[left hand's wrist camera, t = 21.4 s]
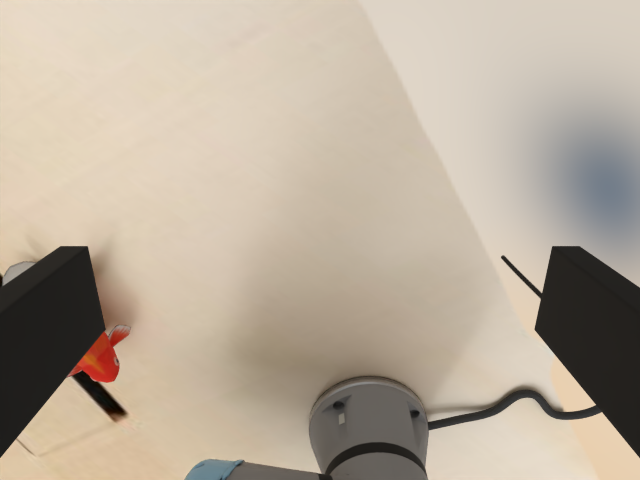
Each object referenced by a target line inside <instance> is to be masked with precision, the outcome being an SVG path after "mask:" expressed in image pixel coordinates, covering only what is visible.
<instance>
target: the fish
mask: <svg viewBox="0 0 640 480" xmlns="http://www.w3.org/2000/svg"><path fill="white" fill-rule="evenodd" d="M34 264H36V263H35V262H21V263H18V264H15V265H12V266H10V267H9V269H8V270H7V271H6V273H5V275H4V277H3V283H2V286H3V285H5V284H6V283H8V282H9V281H11V280H12V279H14V278H15V277H17V276H18V275H19V274H21V273H22V272H24V271H25V270H27V269H28V268H30V267H31V266H33V265H34ZM130 329H131V328H130V327H128V326H124V325H117V326H116V327H115V328H114V329H113V330H112V331H111V333H110V334H109V336H107V335H106V333H105V332H103V333H102V334H101V336H100V337H99V338H98V339H97V341H96V342H95V343H94V344H93V345H92V347H91V348H90V349H89V350H88V352H87V353H86V354H85V355H84V356H83V358H82V359H81V360H80V361H79V362H78V364H77V365H76V366H75V367H74V369H73V370H72V371H71V372H70V373H69V375H68V376H67V377H70V376H72V375H74V374H76V373H78V372H80V371H82V370H83V371H84V372H86V373H87V374H88V375H90V377H91V379H92V380H94V381H100V382H106V383H108V382H112V381H114V380H115V379H116V377H117V375H118V372H119V361H118V359H117V356H116V354H115V351H114V348H113V347H114V346H115V345H116V344H117V343H119V342H120V341H122V340H123V339H124V338H126V337H127V336H128V335H129V331H130ZM67 377H66V378H67Z"/></svg>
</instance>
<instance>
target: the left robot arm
mask: <svg viewBox="0 0 640 480" xmlns="http://www.w3.org/2000/svg"><path fill="white" fill-rule="evenodd" d="M501 259H502V260H503V261H504V262H505V263H506V264H507V265H508V266H509V267H510V268H511V269H512V271H513V272H514V273H515V274H516V275H517V276H518V277H519V278H520V279H521V280H522V281H523V282H524V283H525V284H526V285H527V286H528V287H529V288H530V289H531V290H532V291H533V292H534V293H535V294H536V295H537V296H538V297H539V298H540V299H541V302H540V306H539V311H538V316H537V320H536V325H535V331H536V332H537V333H538V334H539V336H540V337H541V338H542V339H543V341H544V342H545V343H546V344H547V345H548V347H549V348H550V349H551V350H552V352H553V353H554V354H555V355H556V356H557V358H558V359H559V360H560V361H561V362H562V364H563V365H564V366H565V367H566V369H567V370H568V371H569V372H570V373H571V375H572V376H573V377H574V378H575V380H576V381H577V382H578V383H579V384H580V386H581V387H582V388H583V389H584V391H585V392H586V393H587V394H588V395H589V397H590V398H591V399H592V400H593V401H594V403H595V404H596V405H595V406H593V407H591V408H588V409H585V410H580V411H574V412H557V411H555V410H553V409H552V408H551V407H550V406H549V405H548V403H547V402H546V400H545V399H544V398H543V397H542V396H541V395H540V394H539V393H537V392H535V391H532V390H520V391H517V392H514V393H512V394H511V395H509V396H508V397H506V398H505V399H504V400H503V401H501V402H500V403H499V404H497V405H496V406H494V407H492V408H489V409H486V410H483V411H479V412H475V413H469V414H464V415H459V416H454V417H450V418H445V419H441V420H436V421H432V422H428V421H427V417H426V414H425V410H424V407H423V405H422V403H421V401H420V400H419V398H418V397H417V396H416V395H415V393H414V392H412V391H411V390H410V389H409V388H407V387H406V386H404V385H402V384H401V383H398V382H396V381H394V380H391V379H387V378H382V377H358V378H353V379H349V380H346V381H343V382H341V383H339V384H337V385H335V386H333V387H331V388H330V389H328V390H327V391H326V392H325V393H324V394H323V395H322V396H321V397H320V398H319V399H318V400H317V402H316V403H315V405H314V407H313V409H312V411H311V415H310V421H309V436H310V442H311V446H312V449H313V452H314V454H315V457H316V460H317V462H318V465H319V467H320V470H321V473H322V474H318V473H313V472H306V471H299V470H292V469H286V468H279V467H273V466H267V465H260V464H254V463H248V462H245V461H244V460H237V461H225V460H214V459H208V460H204V461H201V462H200V463H198V464H197V465H196V466H194V467H193V468H192V470H191V471H190V472H189V473H188V475H187V476H186V478H185V479H184V480H428V478H427V474H426V470H425V464H426V454H427V445H428V435H429V430H432V429H437V428H441V427H446V426H451V425H455V424H459V423H464V422H469V421H475V420H480V419H484V418H487V417H490V416H493V415H496V414H498V413H500V412H501V411H503V410H504V409H506V408H507V407H508V406H510V405H511V404H512V403H513V402H515V401H517V400H519V399H521V398H533V399H535V400H536V401H537V402H538V403H539V404H540V406H541V407H542V409H543V410H544V411H545V412H546V413H547V414H548V415H549V416H551V417H553V418H556V419H561V420H573V419H582V418H586V417H590V416H593V415H596V414H598V413H601V412H603V414H604V415H605V416H606V417H607V419H608V420H609V421H610V422H611V423H612V425H613V426H614V427H615V428H616V429H617V431H618V432H619V433H620V434H621V436H622V437H623V438H624V439H625V440H626V442H627V443H628V444H629V445H630V447H631V448H632V449H633V450H634V451H635V453H636V454H637V455H638V456H639V458H640V288H639V287H638V286H636V285H635V284H634V283H632V282H631V281H629V280H628V279H626V278H625V277H623V276H622V275H620V274H619V273H618V272H616V271H615V270H613V269H612V268H610V267H609V266H607V265H606V264H604V263H603V262H602V261H600V260H599V259H597V258H596V257H594V256H593V255H591V254H590V253H588V252H587V251H586V250H584V249H583V248H581V247H580V246H553V247H552V250H551V255H550V260H549V264H548V269H547V274H546V278H545V283H544V288H543V292H542V293H541V292H540V291H539V290H538V289H537V288H536V287H535V286H534V285H533V284H532V283H531V282H530V281H529V280H528V279H527V278H526V277H525V276H524V275H523V274H522V273H521V272H520V271H519V270H518V269H517V268H516V267H515V266H514V265H513V264H512V263H511V262H510V261H509V260H508V259H507V258H506V257H505V256H504V255H502V256H501ZM104 331H105V325H104V320H103V316H102V311H101V306H100V302H99V297H98V292H97V288H96V283H95V278H94V274H93V269H92V264H91V260H90V255H89V250H88V246H60V247H59V248H57V249H56V250H54V251H53V252H52V253H50V254H49V255H47V256H46V257H44V258H43V259H41V260H40V261H38V262H37V263H36V264H34V265H33V266H31V267H30V268H28V269H27V270H25V271H24V272H22V273H21V274H19V275H18V276H17V277H15V278H14V279H12V280H11V281H9V282H8V283H6V284H5V285H3V286H2V287H1V288H0V458H1V456H2V455H3V454H4V453H5V451H6V450H7V449H8V448H9V447H10V445H11V444H12V443H13V442H14V440H15V439H16V438H17V437H18V436H19V434H20V433H21V432H22V431H23V430H24V428H25V427H26V426H27V425H28V423H29V422H30V421H31V420H32V419H33V417H34V416H35V415H36V414H37V412H38V411H39V410H40V409H41V408H42V406H43V405H44V404H45V403H46V401H47V400H48V399H49V398H50V397H51V395H52V394H53V393H54V392H55V391H56V389H57V388H58V387H59V386H60V384H61V383H62V382H63V381H64V380H65V378H66V377H67V376H68V375H69V373H70V372H71V371H72V370H73V369H74V367H75V366H76V365H77V364H78V362H79V361H80V360H81V359H82V358H83V356H84V355H85V354H86V353H87V352H88V350H89V349H90V348H91V347H92V345H93V344H94V343H95V342H96V341H97V339H98V338H99V337H100V336H101V334H102V333H103V332H104Z"/></svg>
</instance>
